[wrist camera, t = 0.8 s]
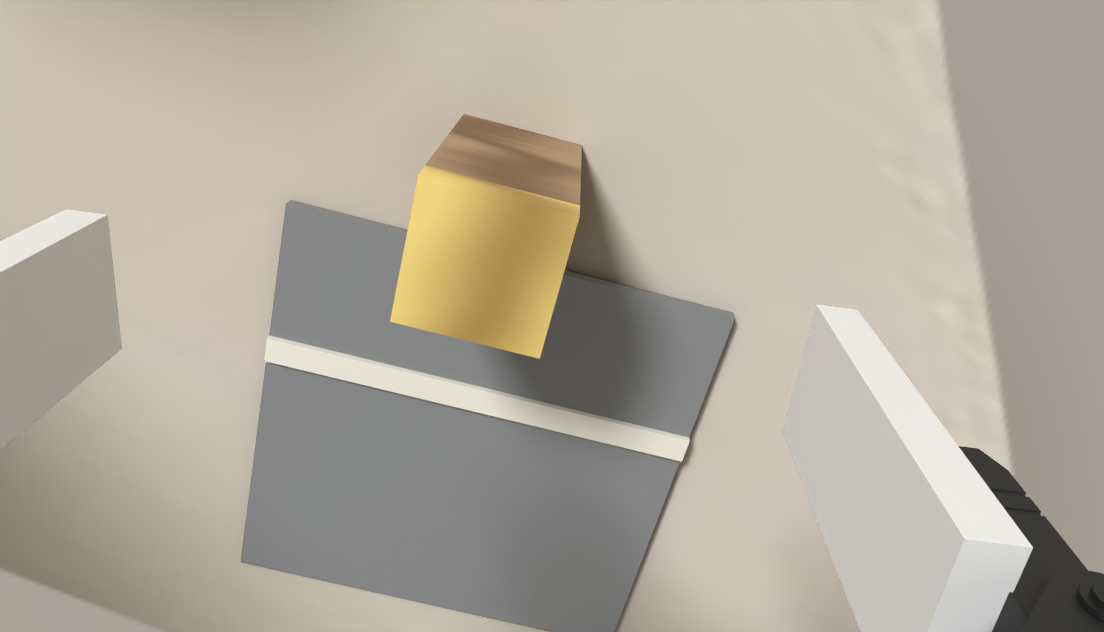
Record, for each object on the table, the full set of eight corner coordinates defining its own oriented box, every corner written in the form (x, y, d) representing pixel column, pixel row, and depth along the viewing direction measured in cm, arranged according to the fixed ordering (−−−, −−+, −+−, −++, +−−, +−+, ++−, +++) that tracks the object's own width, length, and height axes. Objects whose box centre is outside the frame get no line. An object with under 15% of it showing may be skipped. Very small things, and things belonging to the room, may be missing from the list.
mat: (245, 554, 44) (238, 566, 43) (290, 199, 35) (283, 206, 35) (609, 636, 45) (609, 649, 44) (733, 312, 37) (736, 321, 36)
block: (440, 226, 36) (389, 321, 27) (464, 113, 34) (418, 174, 25) (551, 255, 36) (539, 358, 27) (581, 145, 34) (579, 216, 25)
